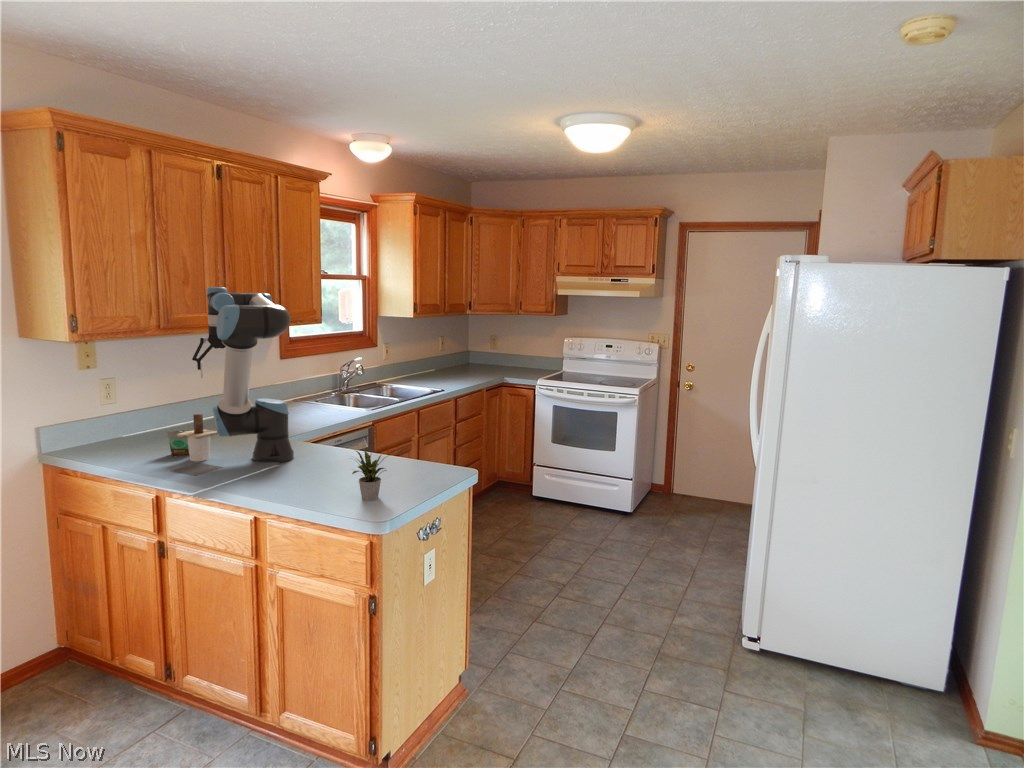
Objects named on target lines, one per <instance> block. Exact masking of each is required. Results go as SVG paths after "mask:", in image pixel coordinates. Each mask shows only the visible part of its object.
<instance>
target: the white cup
mask: <svg viewBox="0 0 1024 768" xmlns="http://www.w3.org/2000/svg"><path fill="white" fill-rule="evenodd" d="M187 439H188V449H189V455H188V456H189V461H191V462H204V461H207V460H210V453H211V436H209V437H205V438H201V439H192V438H187Z"/></svg>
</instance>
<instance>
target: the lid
mask: <svg viewBox="0 0 1024 768" xmlns="http://www.w3.org/2000/svg"><path fill="white" fill-rule="evenodd" d="M187 431H188V432H184V433H179V434H177V436H180V437H186V438H192V439H201V438H205V437H209V436H210V437H213V436H216V435H217V436H218V433H217V430H211V429H204V415H203V413H195V414H193V430H187Z"/></svg>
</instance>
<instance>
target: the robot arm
mask: <svg viewBox="0 0 1024 768" xmlns="http://www.w3.org/2000/svg"><path fill="white" fill-rule="evenodd" d="M206 298H207V299H206V301H207V302H206V303H207V324H208V325H209V326H208V337H203V336H201V337H200V339H199V341H200V343H199V344H198V346H197V348H196V350H195V352H194V354H193V356H192V359H191V360H192V361H194V362H196V364H197V366H196V368H197V370H198V371H199V370H200V379H204V362H203V361H202V360H203V359H204V358H205V357H206V355H208V353H209V352H210V351H211V350H212V349H215V350H216V349H225V354H224V355H225V356H224V357H225V358H224V372H223V390H222V391H223V394H222V397H220V399H219V400H218V402H217V403H218V404H217V405H214V406H213V407H212V413H213V415H212V416H213V419H214V420H213V421H214V425H215V431H217V433H218V434H217V436H220V437H230V438H232V437H236V436H238V437H239V436H247V435H256V442H255V444H254V449H253V452H252V461H255V462H257V463H258V462H260V463H278V462H279V463H284V461H285V462H288V460H289V461H291V460H293V459H294V457H295V455H294V454H295V453H294V450H293V447H292V445H291V441H290V437H289V436H290V435H289V433H290V432H289V408H288V404H287V402H286V401H283V400H281V399H274V398H256V399H255V402H254V403H253V402H252V401H251V399H249V393H250V379H251V367H252V354H253V349H254V348H255V347H256V346H257V345H258V339H259V340H261V339H272V338H276V337H279V336H280V335H282V334H284V333H285V332H286V331H287V330H288V329H289V327H290V324H291V314H290V312H289V310H287V308H285V307H284V306H283V305H280V304H277V303H274V302H273V299H272V295H271V294H270V293H265V292H228V288H226V287H223V286H209V287H207V288H206ZM206 342H208V343H209V344H210V345H208V347H207V348H206V349H205V350H204V351H203V353H202V354H201V355H200V356H199V357H198V355H199V353H200V351H201V349H202V348H203V345H204V344H206Z"/></svg>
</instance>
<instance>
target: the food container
mask: <svg viewBox="0 0 1024 768" xmlns="http://www.w3.org/2000/svg"><path fill="white" fill-rule="evenodd" d="M188 431H189V430H183V429H182V430H177V431H170V430H166V437H167V438H168V442H169V449H170V455H171V454H172V455H173V456H172V455H171V456H172V457H174V456H177V457H180V456H182V457H183V456H190V455H189V449H188V439H187V438H186V437H180V436H177V434H179V433H184V432H188Z"/></svg>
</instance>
